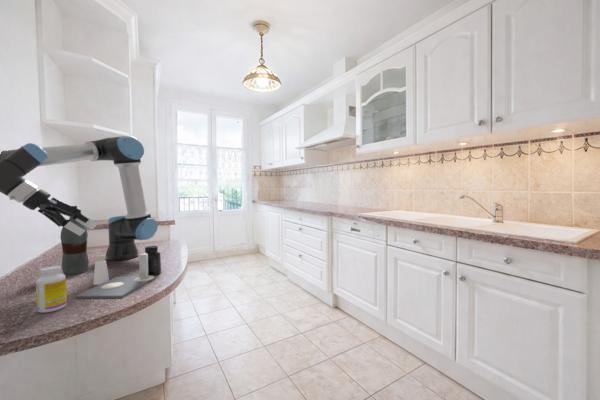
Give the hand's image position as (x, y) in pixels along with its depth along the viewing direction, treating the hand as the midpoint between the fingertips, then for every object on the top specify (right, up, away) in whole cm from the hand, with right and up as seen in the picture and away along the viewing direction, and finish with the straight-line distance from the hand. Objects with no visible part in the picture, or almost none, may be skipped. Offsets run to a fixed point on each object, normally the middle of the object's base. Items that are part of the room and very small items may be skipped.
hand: (88, 230), depth 104 cm
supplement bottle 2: (+20, -20, +9) cm, 30 cm away
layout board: (+17, -21, -6) cm, 28 cm away
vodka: (-17, -21, +13) cm, 30 cm away
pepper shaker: (+6, -21, -1) cm, 22 cm away
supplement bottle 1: (+9, -22, -24) cm, 34 cm away
